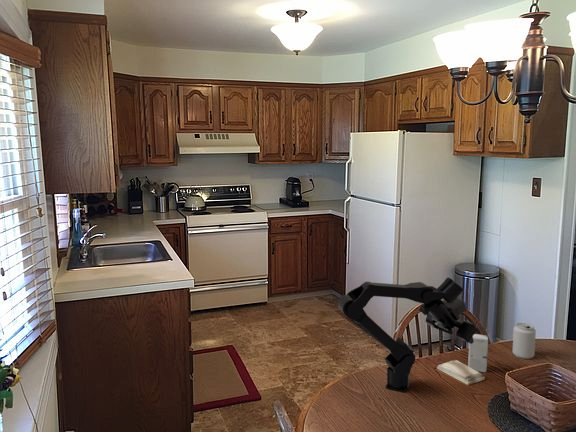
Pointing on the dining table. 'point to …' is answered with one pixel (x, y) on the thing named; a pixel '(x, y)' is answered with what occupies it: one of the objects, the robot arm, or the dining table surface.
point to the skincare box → (478, 353)
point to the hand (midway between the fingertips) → (462, 337)
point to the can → (524, 340)
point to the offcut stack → (461, 372)
